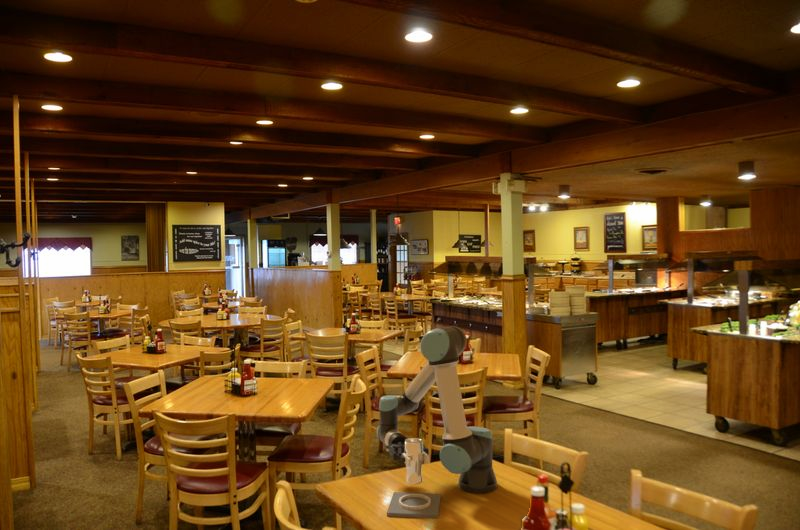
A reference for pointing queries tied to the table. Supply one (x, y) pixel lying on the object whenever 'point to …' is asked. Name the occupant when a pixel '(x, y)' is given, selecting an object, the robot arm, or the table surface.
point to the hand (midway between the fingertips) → (419, 461)
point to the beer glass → (414, 459)
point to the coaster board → (414, 505)
